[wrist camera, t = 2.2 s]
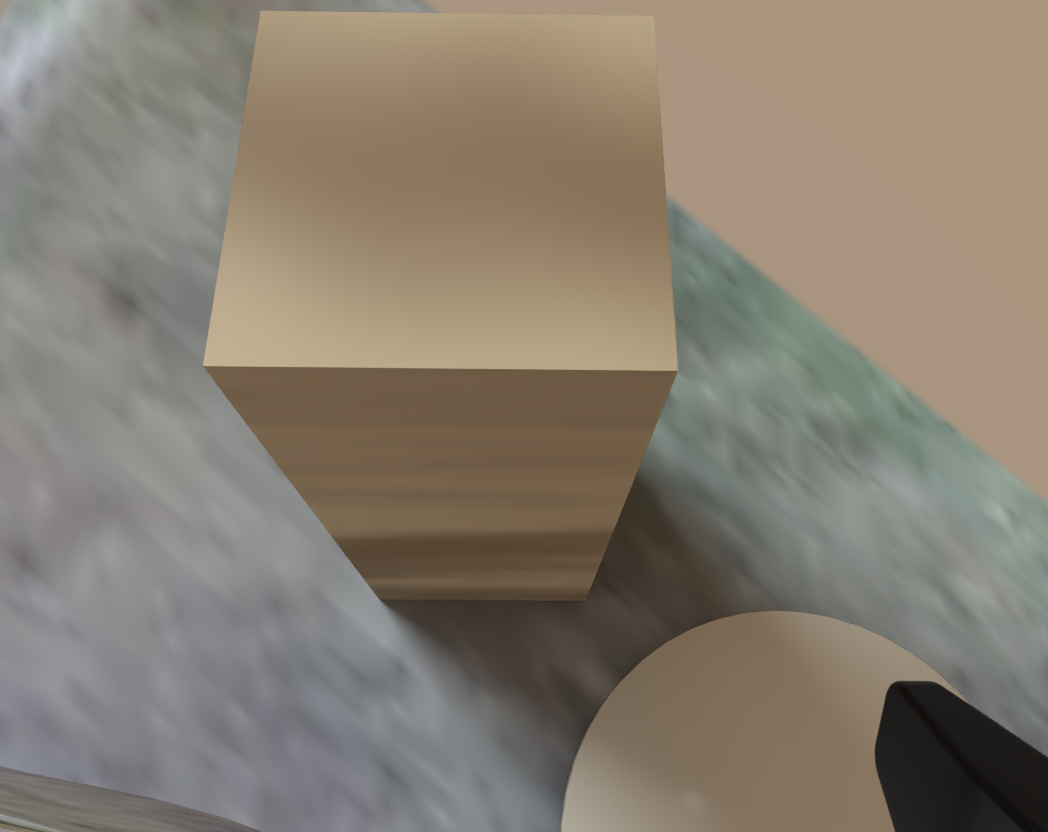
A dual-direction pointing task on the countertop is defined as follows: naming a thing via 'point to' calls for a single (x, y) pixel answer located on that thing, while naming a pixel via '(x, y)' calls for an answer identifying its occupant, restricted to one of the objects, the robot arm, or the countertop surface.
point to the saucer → (743, 731)
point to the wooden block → (451, 288)
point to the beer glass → (93, 809)
